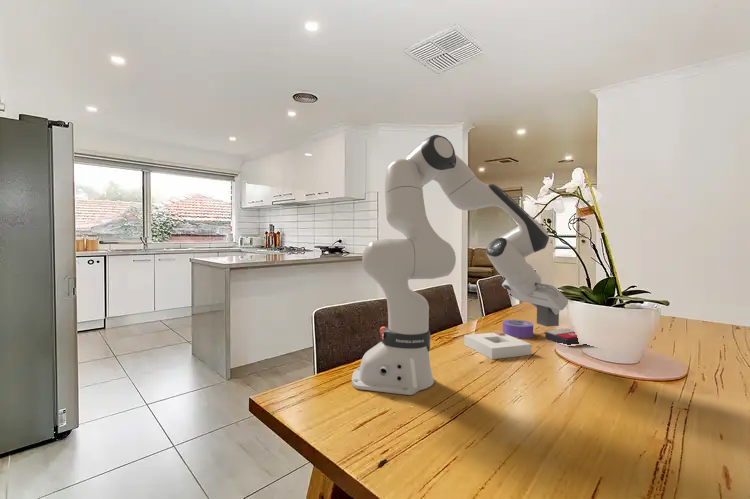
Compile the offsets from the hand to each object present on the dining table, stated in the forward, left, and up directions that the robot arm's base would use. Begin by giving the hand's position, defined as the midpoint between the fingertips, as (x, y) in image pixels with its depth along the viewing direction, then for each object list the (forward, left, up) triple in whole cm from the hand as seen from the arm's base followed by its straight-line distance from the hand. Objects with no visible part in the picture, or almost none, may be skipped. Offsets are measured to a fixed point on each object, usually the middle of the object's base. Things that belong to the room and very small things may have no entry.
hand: (549, 311), depth 112 cm
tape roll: (+2, +31, -17) cm, 36 cm away
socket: (-13, +10, -16) cm, 23 cm away
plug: (0, 0, -4) cm, 4 cm away
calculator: (+19, +23, -17) cm, 35 cm away
